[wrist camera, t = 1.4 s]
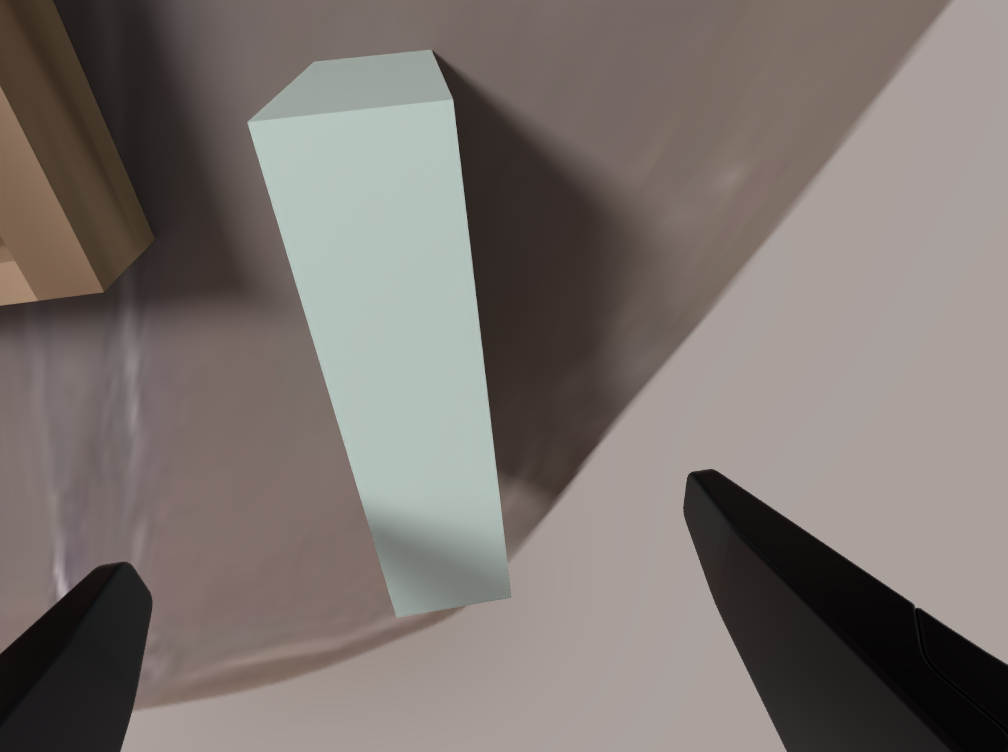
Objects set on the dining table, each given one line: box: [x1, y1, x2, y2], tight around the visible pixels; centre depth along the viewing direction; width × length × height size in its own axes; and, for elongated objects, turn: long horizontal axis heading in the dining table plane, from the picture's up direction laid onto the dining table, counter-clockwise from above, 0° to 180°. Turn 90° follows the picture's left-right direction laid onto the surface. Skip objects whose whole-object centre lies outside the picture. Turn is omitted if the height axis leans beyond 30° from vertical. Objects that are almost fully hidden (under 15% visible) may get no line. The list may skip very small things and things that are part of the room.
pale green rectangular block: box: [248, 50, 511, 617], centre depth 15 cm, size 3×12×8 cm, turn 5°
